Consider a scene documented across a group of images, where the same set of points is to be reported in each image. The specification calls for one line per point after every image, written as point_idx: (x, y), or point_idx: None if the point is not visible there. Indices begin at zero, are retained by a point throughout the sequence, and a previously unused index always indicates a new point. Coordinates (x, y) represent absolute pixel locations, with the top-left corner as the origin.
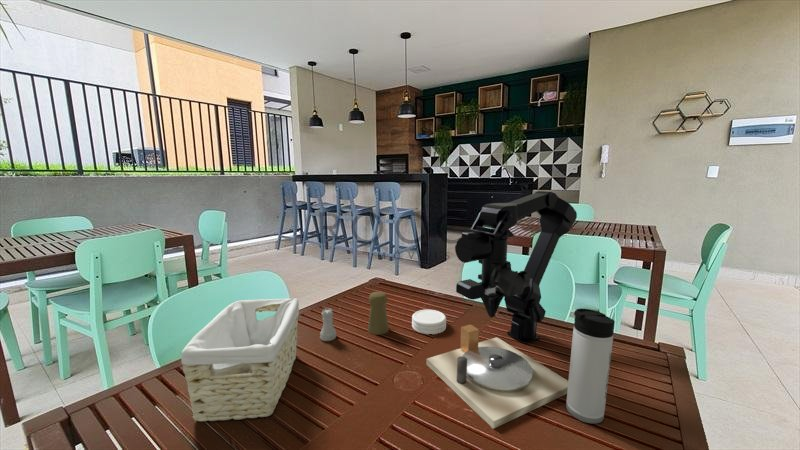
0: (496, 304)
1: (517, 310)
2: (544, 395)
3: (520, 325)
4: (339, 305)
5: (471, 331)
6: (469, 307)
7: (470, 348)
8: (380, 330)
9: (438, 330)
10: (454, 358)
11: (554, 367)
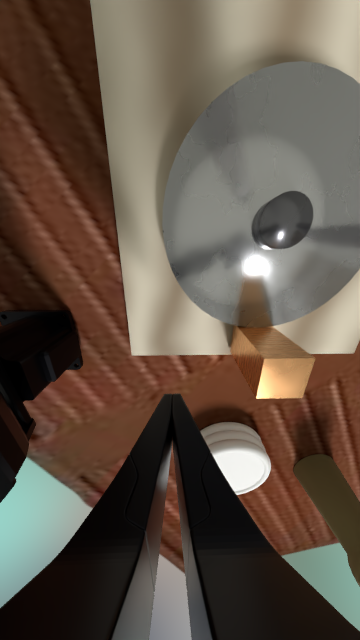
0: (160, 465)
1: (1, 399)
2: (246, 7)
3: (40, 350)
4: (305, 535)
5: (303, 358)
6: (92, 472)
7: (267, 328)
8: (328, 464)
9: (229, 428)
10: (302, 326)
11: (65, 176)
